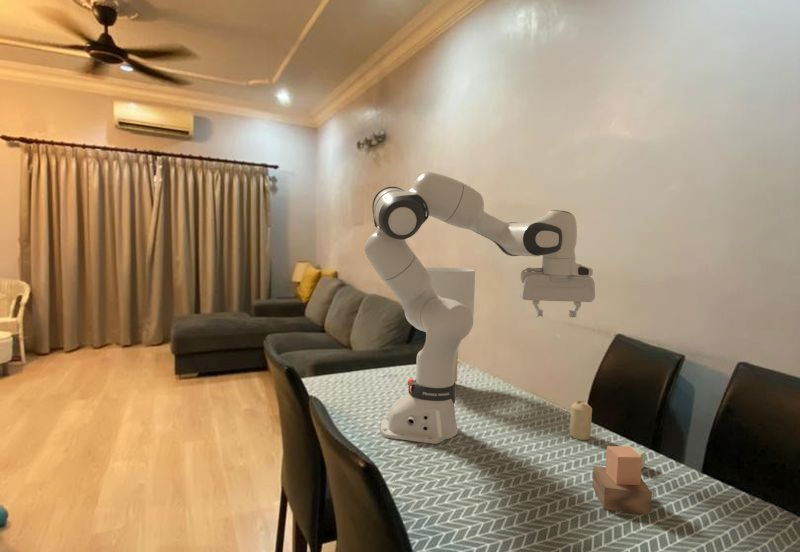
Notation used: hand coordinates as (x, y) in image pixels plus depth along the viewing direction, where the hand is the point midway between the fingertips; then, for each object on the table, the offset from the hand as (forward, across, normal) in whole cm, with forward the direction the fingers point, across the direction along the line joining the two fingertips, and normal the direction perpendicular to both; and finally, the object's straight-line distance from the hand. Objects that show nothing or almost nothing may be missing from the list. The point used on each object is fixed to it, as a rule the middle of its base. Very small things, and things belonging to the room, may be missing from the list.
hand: (555, 316), depth 128 cm
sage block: (+34, +14, -18) cm, 41 cm away
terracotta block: (+30, +6, -34) cm, 45 cm away
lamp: (+34, -30, +39) cm, 60 cm away
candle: (+34, +8, -2) cm, 35 cm away
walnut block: (+34, +5, -34) cm, 49 cm away
